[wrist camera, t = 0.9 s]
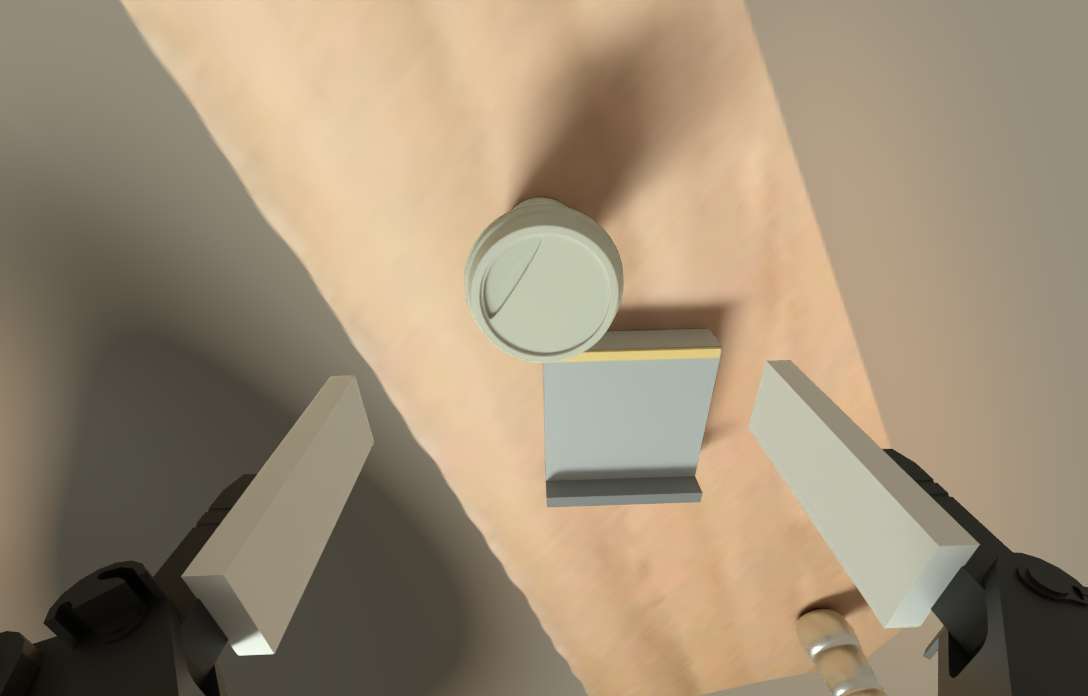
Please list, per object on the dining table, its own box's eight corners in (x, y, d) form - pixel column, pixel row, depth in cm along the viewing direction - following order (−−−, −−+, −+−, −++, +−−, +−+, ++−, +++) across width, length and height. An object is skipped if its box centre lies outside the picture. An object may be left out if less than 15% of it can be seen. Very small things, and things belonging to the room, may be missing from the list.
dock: (542, 333, 36) (544, 364, 31) (708, 328, 36) (733, 358, 32) (545, 467, 43) (546, 507, 39) (683, 462, 43) (700, 501, 39)
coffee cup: (570, 153, 29) (592, 178, 19) (614, 263, 33) (653, 334, 23) (461, 209, 31) (425, 261, 20) (515, 307, 35) (508, 393, 24)
